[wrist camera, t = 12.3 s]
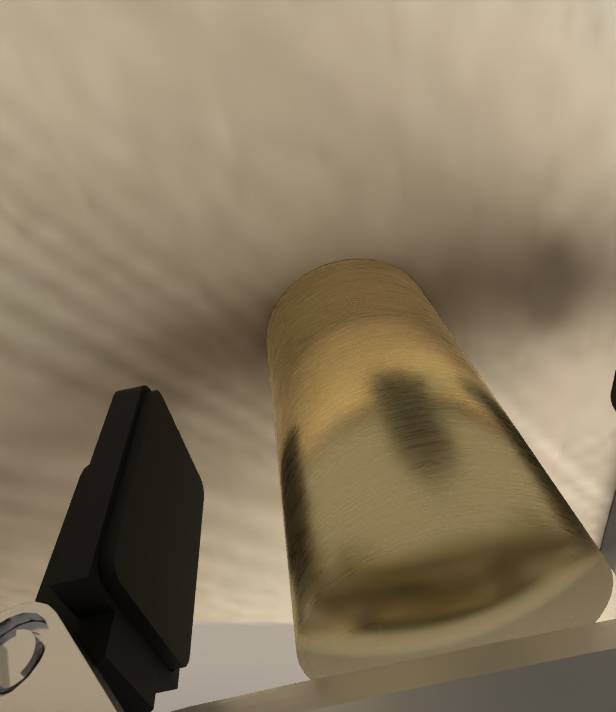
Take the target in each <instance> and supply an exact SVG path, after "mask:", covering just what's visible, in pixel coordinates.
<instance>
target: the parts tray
mask: <svg viewBox="0 0 616 712" xmlns="http://www.w3.org/2000/svg"><path fill="white" fill-rule="evenodd" d="M600 552H601V553H602V554H603V556H604V557H605V559H606V560H607V562H608V563H609V565H610V567H611V569H612V570H613V572H614V573H615V575H616V493H615V497H614V501H613V505H612V508H611V512H610V516H609V520H608V524H607V528H606V531H605V535H604V539H603V543H602V547H601V551H600Z"/></svg>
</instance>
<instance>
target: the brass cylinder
mask: <svg viewBox="0 0 616 712" xmlns="http://www.w3.org/2000/svg"><path fill="white" fill-rule="evenodd" d="M266 339H267V353H268V364H269V374H270V384H271V394H272V405H273V415H274V425H275V436H276V446H277V456H278V466H279V477H280V487H281V497H282V507H283V518H284V528H285V538H286V549H287V559H288V569H289V579H290V590H291V600H292V610H293V620H294V631H295V641H296V651H297V657H298V661H299V664H300V666H301V668H302V669H303V671H304V673H305V674H306V675H307V676H308V677H309V678H310V679H311V680H314V679H319V678H324V677H328V676H333V675H338V674H343V673H348V672H353V671H358V670H363V669H368V668H373V667H378V666H383V665H388V664H393V663H397V662H402V661H407V660H412V659H417V658H422V657H427V656H432V655H437V654H442V653H447V652H452V651H457V650H462V649H467V648H472V647H477V646H482V645H487V644H492V643H497V642H502V641H507V640H512V639H517V638H522V637H527V636H532V635H537V634H542V633H547V632H552V631H557V630H562V629H567V628H573V627H578V626H583V625H588V624H593V623H595V622H596V621H597V620H598V618H599V617H600V616H601V614H602V612H603V611H604V609H605V608H606V606H607V604H608V601H609V599H610V597H611V593H612V587H613V575H612V571H611V568H610V565H609V563H608V562H607V560H606V559H605V557H604V556H603V554H602V553H601V552H600V550H599V549H598V547H597V546H596V544H595V543H594V541H593V540H592V538H591V537H590V535H589V534H588V533H587V531H586V530H585V528H584V527H583V525H582V524H581V522H580V521H579V519H578V518H577V517H576V515H575V514H574V512H573V511H572V509H571V508H570V506H569V505H568V503H567V502H566V500H565V499H564V498H563V496H562V495H561V493H560V492H559V490H558V489H557V487H556V486H555V484H554V483H553V482H552V480H551V479H550V477H549V476H548V474H547V473H546V471H545V470H544V468H543V467H542V465H541V464H540V463H539V461H538V460H537V458H536V457H535V455H534V454H533V452H532V451H531V449H530V448H529V447H528V445H527V444H526V442H525V441H524V439H523V438H522V436H521V435H520V433H519V432H518V430H517V429H516V428H515V426H514V425H513V423H512V422H511V420H510V419H509V417H508V416H507V414H506V413H505V412H504V410H503V409H502V407H501V406H500V404H499V403H498V401H497V400H496V398H495V397H494V395H493V394H492V393H491V391H490V390H489V388H488V387H487V385H486V384H485V382H484V381H483V379H482V378H481V377H480V375H479V374H478V372H477V371H476V369H475V368H474V366H473V365H472V363H471V362H470V360H469V359H468V358H467V356H466V355H465V353H464V352H463V350H462V349H461V347H460V346H459V344H458V343H457V342H456V340H455V339H454V337H453V336H452V334H451V333H450V331H449V330H448V328H447V327H446V325H445V324H444V323H443V321H442V320H441V318H440V317H439V315H438V314H437V312H436V311H435V309H434V308H433V307H432V305H431V304H430V302H429V301H428V299H427V298H426V296H425V295H424V293H423V292H422V291H421V289H420V288H419V286H418V285H417V284H416V283H415V282H414V281H413V279H412V278H411V277H409V276H408V275H407V274H405V273H404V272H403V271H401V270H399V269H397V268H395V267H394V266H391V265H388V264H386V263H383V262H379V261H374V260H366V259H349V260H343V261H337V262H333V263H330V264H326V265H324V266H321V267H319V268H317V269H314V270H313V271H311V272H309V273H307V274H306V275H304V276H303V277H301V278H300V279H299V280H297V281H296V282H295V283H294V284H293V285H292V286H291V287H289V288H288V289H287V290H286V292H285V293H284V294H283V295H282V297H281V298H280V299H279V301H278V302H277V304H276V306H275V307H274V309H273V312H272V314H271V316H270V320H269V323H268V327H267V336H266Z"/></svg>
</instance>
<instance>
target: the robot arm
mask: <svg viewBox="0 0 616 712" xmlns="http://www.w3.org/2000/svg"><path fill="white" fill-rule="evenodd" d="M611 402H612V405H613V407H614V409H615V411H616V372H615V376H614V381H613V385H612V390H611ZM203 502H204V490H203V484H202V481H201V478H200V476H199V474H198V472H197V470H196V468H195V465H194V463H193V461H192V459H191V457H190V455H189V453H188V450H187V448H186V446H185V444H184V442H183V440H182V438H181V435H180V433H179V431H178V429H177V427H176V425H175V423H174V420H173V418H172V416H171V414H170V412H169V410H168V408H167V405H166V403H165V401H164V399H163V397H162V395H161V393H160V392H159V391H157V390H155V391H151V390H150V388H149V387H148V386H145V385H144V386H139V387H134V388H130V389H125V390H120V391H117V392H115V394H114V396H113V399H112V402H111V405H110V408H109V410H108V413H107V416H106V419H105V422H104V425H103V428H102V430H101V433H100V436H99V439H98V442H97V445H96V448H95V450H94V453H93V456H92V459H91V462H90V465H88V466H87V467H86V468H85V469H84V470H83V472H82V474H81V476H80V478H79V481H78V484H77V487H76V489H75V492H74V495H73V498H72V500H71V503H70V506H69V509H68V511H67V514H66V517H65V520H64V523H63V525H62V528H61V531H60V534H59V536H58V539H57V542H56V545H55V547H54V550H53V553H52V556H51V559H50V561H49V564H48V567H47V570H46V572H45V575H44V578H43V581H42V583H41V586H40V589H39V592H38V595H37V597H36V600H35V602H31V603H23V604H20V605H18V606H15V607H13V608H10V609H8V610H6V611H4V612H3V613H1V614H0V712H151V711H152V710H153V708H154V701H155V694H156V693H159V692H164V691H169V690H174V689H177V688H178V679H179V669H180V668H183V667H186V666H187V664H188V661H189V657H190V647H191V635H192V625H193V614H194V602H195V591H196V580H197V569H198V558H199V546H200V535H201V524H202V513H203ZM172 712H616V619H613V620H608V621H603V622H598V623H593V624H588V625H583V626H578V627H573V628H567V629H562V630H557V631H552V632H547V633H542V634H537V635H532V636H527V637H522V638H517V639H512V640H507V641H502V642H497V643H492V644H487V645H482V646H477V647H472V648H467V649H462V650H457V651H452V652H447V653H442V654H437V655H432V656H427V657H422V658H417V659H412V660H407V661H402V662H397V663H393V664H388V665H383V666H378V667H373V668H368V669H363V670H358V671H353V672H348V673H343V674H338V675H333V676H328V677H324V678H319V679H314V680H309V681H304V682H299V683H294V684H290V685H285V686H280V687H276V688H271V689H267V690H263V691H258V692H253V693H249V694H245V695H240V696H235V697H231V698H227V699H222V700H217V701H213V702H208V703H204V704H199V705H195V706H191V707H187V708H183V709H179V710H176V711H172Z"/></svg>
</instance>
